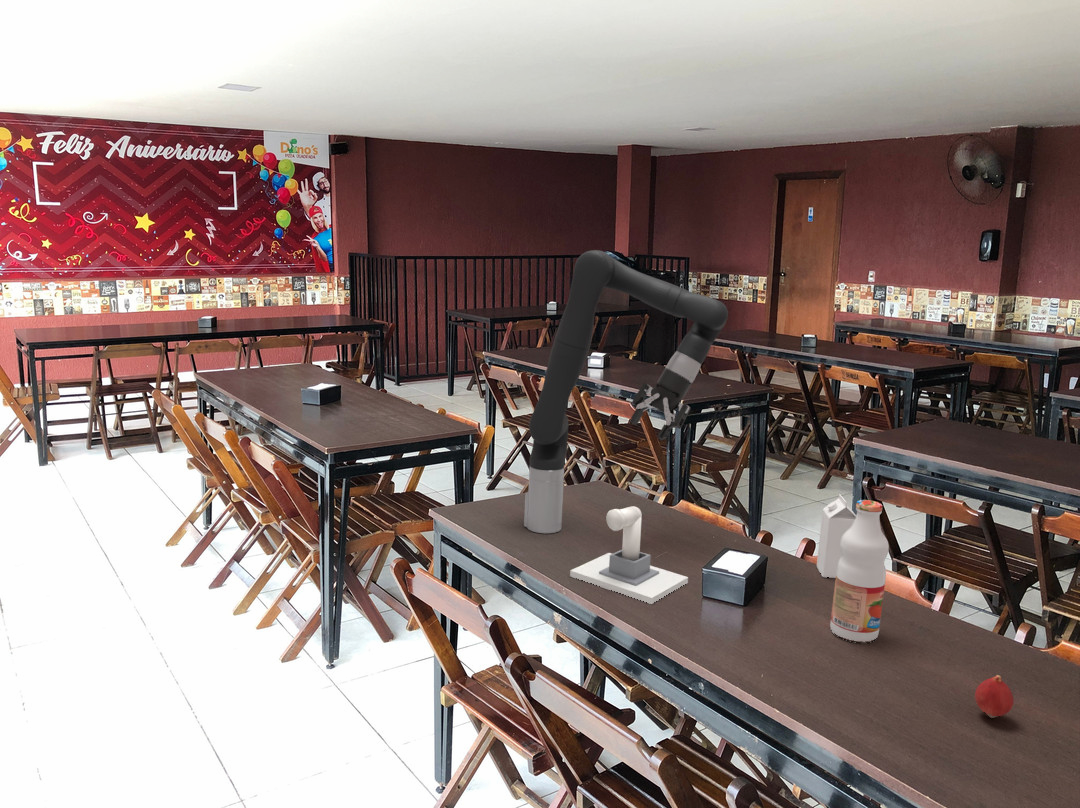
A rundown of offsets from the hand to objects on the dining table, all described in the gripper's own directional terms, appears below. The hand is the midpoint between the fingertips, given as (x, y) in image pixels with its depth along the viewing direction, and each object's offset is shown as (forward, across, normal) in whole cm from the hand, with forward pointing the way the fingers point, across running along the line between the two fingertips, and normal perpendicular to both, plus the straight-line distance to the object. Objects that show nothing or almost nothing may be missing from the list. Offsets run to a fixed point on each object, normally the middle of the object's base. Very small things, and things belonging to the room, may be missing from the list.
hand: (646, 431), depth 215 cm
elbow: (+31, +17, -7) cm, 36 cm away
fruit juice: (+15, +64, +2) cm, 66 cm away
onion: (+13, +94, -13) cm, 95 cm away
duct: (+32, +18, -4) cm, 37 cm away
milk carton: (+8, +48, +30) cm, 57 cm away
